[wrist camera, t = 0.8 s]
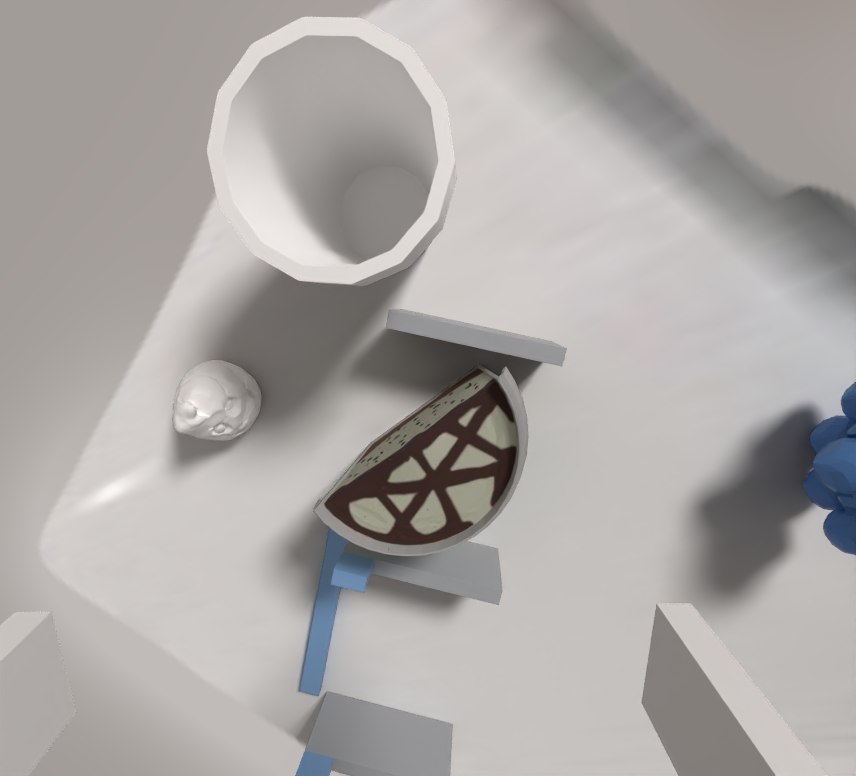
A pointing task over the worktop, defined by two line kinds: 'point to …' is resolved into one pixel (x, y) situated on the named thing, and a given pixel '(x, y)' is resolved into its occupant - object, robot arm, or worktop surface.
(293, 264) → the foam cup
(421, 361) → the worktop surface
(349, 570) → the blue-edged channel bracket
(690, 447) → the worktop surface
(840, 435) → the grapes
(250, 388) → the garlic bulb
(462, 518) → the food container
